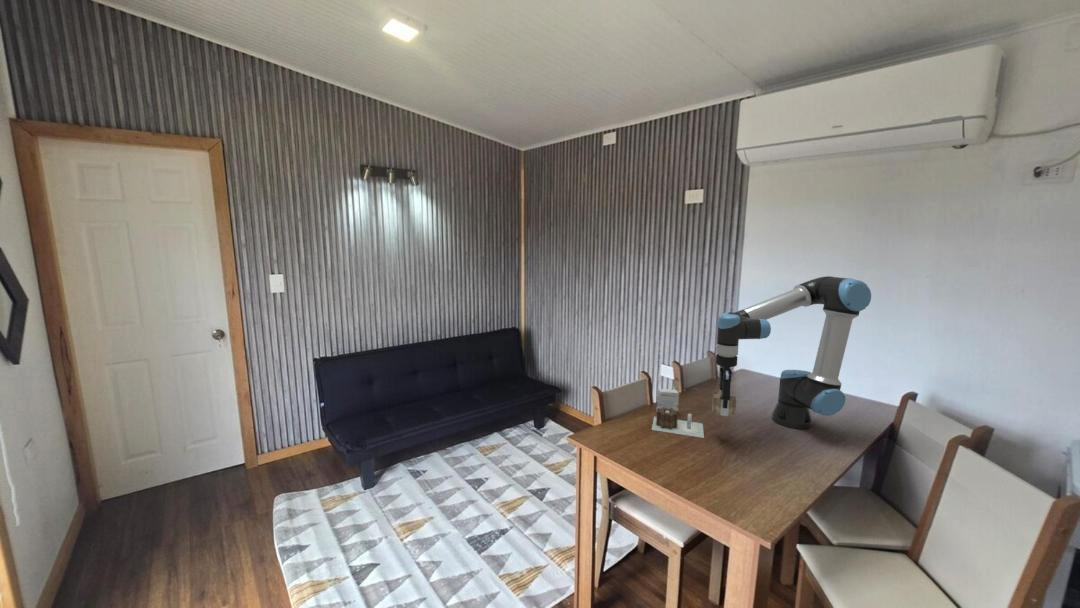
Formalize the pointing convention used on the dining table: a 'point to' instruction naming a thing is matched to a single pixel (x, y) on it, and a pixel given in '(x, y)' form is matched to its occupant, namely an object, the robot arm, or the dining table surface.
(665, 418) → the gear
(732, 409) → the gear
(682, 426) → the gear board
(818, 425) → the dining table surface
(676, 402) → the ink box
